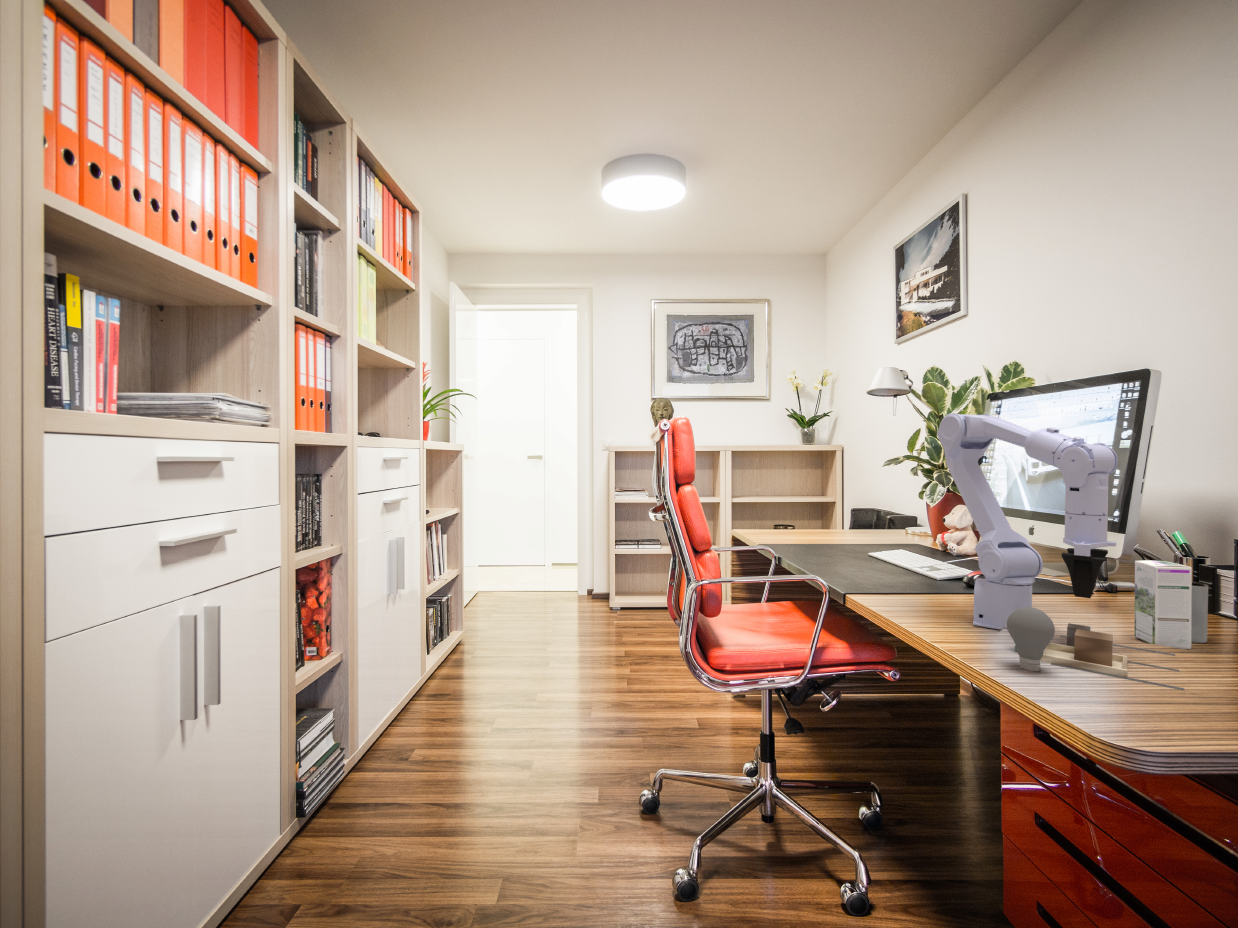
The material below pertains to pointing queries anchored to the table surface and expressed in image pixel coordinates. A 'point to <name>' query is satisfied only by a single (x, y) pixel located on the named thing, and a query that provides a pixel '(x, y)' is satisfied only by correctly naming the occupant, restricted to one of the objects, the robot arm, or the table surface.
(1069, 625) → the cream flat panel
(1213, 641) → the table surface
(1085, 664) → the cream sliding tray
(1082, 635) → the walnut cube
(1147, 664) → the lane rails
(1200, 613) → the grey cylinder
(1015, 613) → the light bulb
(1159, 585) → the syrup box
